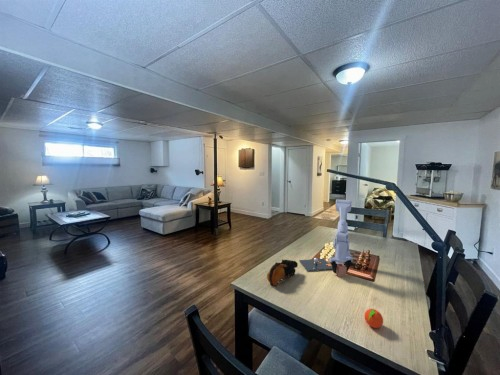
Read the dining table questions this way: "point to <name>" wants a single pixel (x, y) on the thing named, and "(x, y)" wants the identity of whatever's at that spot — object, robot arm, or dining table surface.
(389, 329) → the dining table surface
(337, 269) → the collar
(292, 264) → the tool
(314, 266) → the stand
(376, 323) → the clementine
